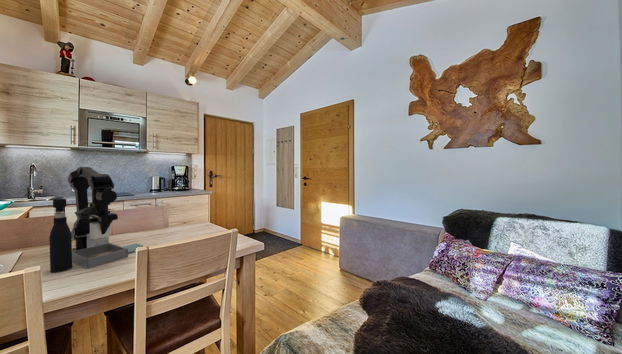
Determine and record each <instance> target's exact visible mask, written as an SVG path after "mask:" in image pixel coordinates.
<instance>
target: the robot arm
mask: <svg viewBox="0 0 622 354" xmlns="http://www.w3.org/2000/svg"><path fill="white" fill-rule="evenodd" d="M67 181H68V184H69V187H70V188H71V189H72V190H73V191H74V194H75V195H74V196H75V207H76V209H75V210H76V211H74V214H75V216H76V220H75V222H74V223H73V228H72V229H71V230H70V231H71V239H72V241H75V247H72V251H77V250H81V249H85V248H87V234H90V223H93V222H97V223H99V224H100V229H101V233H102V234H105V233H106V231H107V229H108V227H109V226H110V227H111V225H112V223H113V222H114V221H117V220H119V217H118V216H119V215H118V214H117V213H114V212H111V210H109V206H110V205H111V203H114V202H115V201H116V200H117V198H118V194H117V193H116V191H114V190H113V189H115V182H114V181H113V179H112V178H111V176H110V175H109V174H108V173H99V172H98V171H97V170H94V169H93V168H92V167H90V166H80V167H77V169H75V170H73V171H71V172H70V173H69V174H68V176H67ZM89 188H90V189H91V190H90V191H91V202H90V203H89V196H88V195H89V194H88V190H89Z"/></svg>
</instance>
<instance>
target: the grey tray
mask: <svg viewBox="0 0 622 354" xmlns="http://www.w3.org/2000/svg"><path fill="white" fill-rule="evenodd" d="M107 252H109V253H107ZM102 253H105V254H102ZM100 254H102V255H100ZM94 255H98V256H94ZM90 256H91V257H90ZM92 256H94V257H92ZM128 256H129V254H128V249H127V248H124V246H121V245H117V244H115V243H111V242H109V243H107V244H102V245H98V246H94V247H89V248H85V249H81V250H77V251H76V250H72V263H74V264H77V265H78V266H81V267H83V268H85V269H87V270H88V269H92V268H94V267H95V268H96V267H98V266H102V265H105V264H107V263H112V262H115V261H118V260H122V259H125V258H128ZM87 257H90V258H87Z"/></svg>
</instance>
